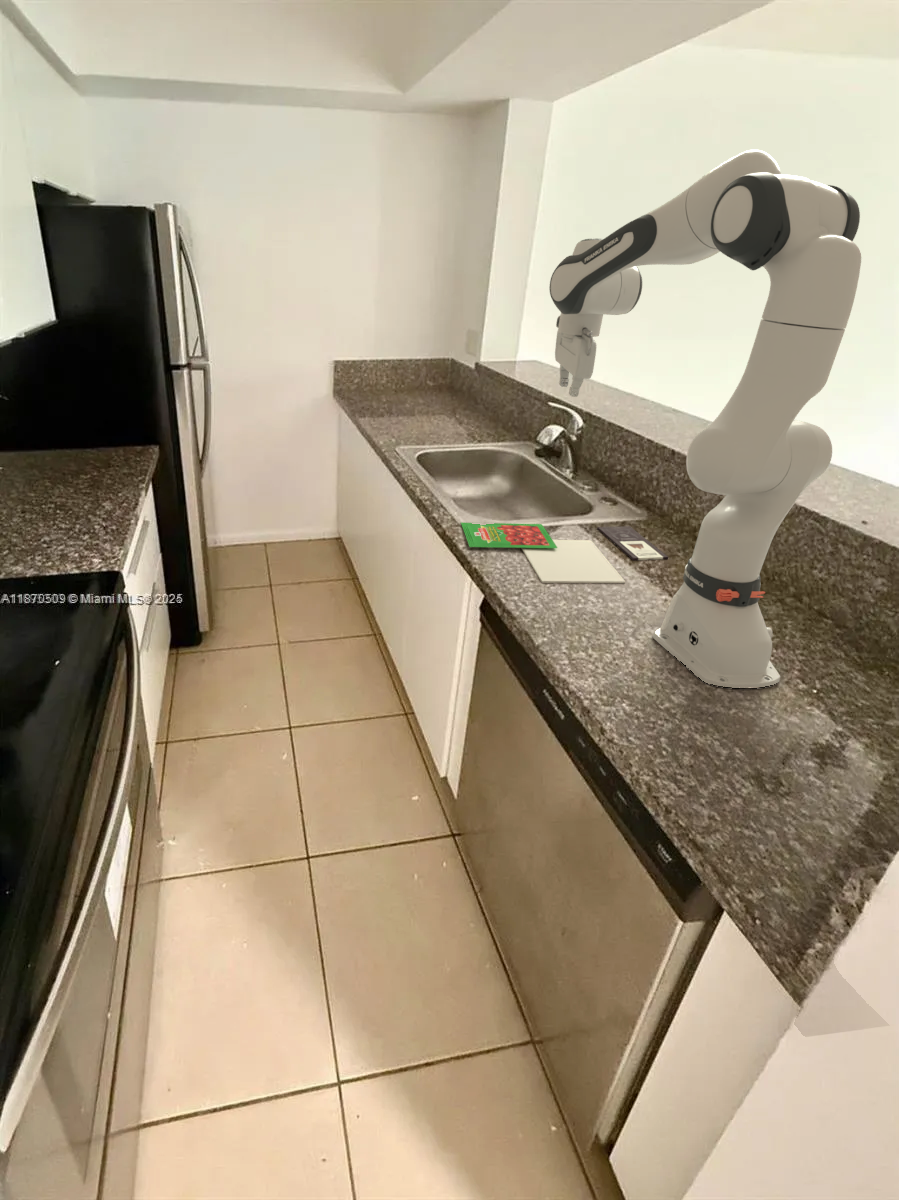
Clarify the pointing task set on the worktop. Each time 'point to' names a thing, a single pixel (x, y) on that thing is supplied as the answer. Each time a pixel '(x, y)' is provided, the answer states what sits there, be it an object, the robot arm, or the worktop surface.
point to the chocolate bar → (632, 543)
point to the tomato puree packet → (507, 535)
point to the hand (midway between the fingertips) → (567, 391)
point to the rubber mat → (572, 563)
